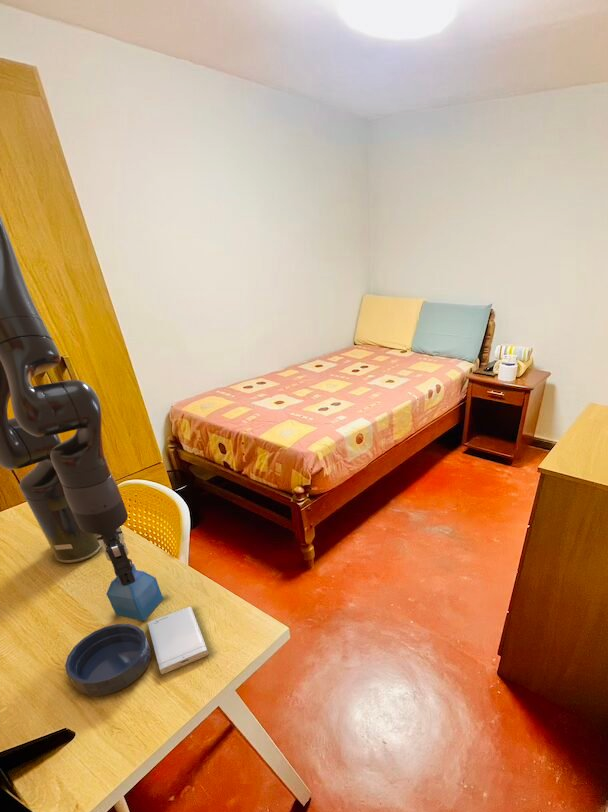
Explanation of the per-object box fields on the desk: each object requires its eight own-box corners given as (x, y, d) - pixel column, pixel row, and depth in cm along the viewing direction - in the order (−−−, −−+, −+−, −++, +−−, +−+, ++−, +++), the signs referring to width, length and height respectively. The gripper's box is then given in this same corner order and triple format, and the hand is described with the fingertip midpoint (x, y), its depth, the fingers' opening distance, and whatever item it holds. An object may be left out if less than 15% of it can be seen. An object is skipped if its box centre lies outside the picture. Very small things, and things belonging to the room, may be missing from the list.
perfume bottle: (144, 621, 84) (125, 577, 77) (116, 615, 85) (96, 571, 78) (163, 599, 89) (148, 556, 82) (137, 593, 90) (119, 550, 83)
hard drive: (146, 622, 82) (159, 669, 74) (191, 605, 86) (207, 649, 78) (149, 627, 83) (161, 675, 75) (192, 611, 87) (209, 654, 78)
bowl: (69, 659, 76) (60, 645, 74) (142, 627, 83) (136, 613, 80) (80, 710, 69) (71, 697, 66) (159, 671, 75) (154, 658, 73)
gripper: (129, 513, 69) (154, 584, 79) (111, 476, 78) (136, 543, 87) (76, 528, 65) (109, 601, 75) (63, 487, 74) (94, 557, 83)
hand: (123, 570), depth 81 cm, fingers open, 8 cm apart
